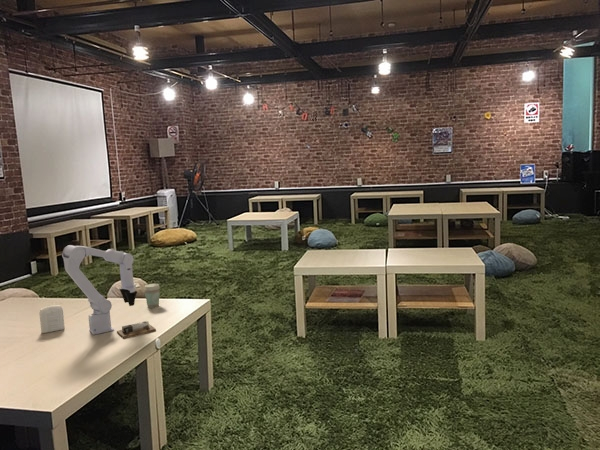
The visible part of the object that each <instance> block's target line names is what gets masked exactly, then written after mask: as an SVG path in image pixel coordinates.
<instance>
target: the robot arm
mask: <svg viewBox="0 0 600 450" xmlns="http://www.w3.org/2000/svg"><path fill="white" fill-rule="evenodd" d="M89 256H94V257H98V258H103V259H104V261H106V262H108V263H109V262H111V263H114V264H118V265H119V274H120V283H121V285H120V288H119V292H120V293H121V295H122V298H123V299H122V300H123V302H124V303H128V305H129V307H132V306H135V301H136V296H137V294H138V291H137V290H135V287H137V284H135V283H134V272H133V263H134V262H135V258H134V257H133V255H132V254H131V253H128V252H124V251H123V250H120V251H119V250H115V248H113V247H112V248H108V249H107V250H102V249H98V248H94V247H90V246H86V245H85V246H83V245H73V244H69V245H67V246H65V247H64V248H63V251H62V254H61V257H62V259H63V265H64V270H65V272H66V273H67V274H68V275H69V277H70V278H71V279H72V280H73V282H74V284H76V286H77V287H78V288H79V289H80V290H81V292H82V293H83V294H84V295H85V296H86V297H87V301H88V303H89V307H90V308H91V309H92V310H93V311H92V312H93V313H91V314H88V325H89V326H88V328H89V330H88V331H89V332H90V333H91V334H92V335H93V336H94V335H95V336H96V335H99V334H102V333H103V334H104V333H107V332H112V331H115V328H114V327H112V319H111V310H112V306H113V305H112V302H111V300H109V299H107V298H105V296H103V294H101V293H100V292H99V291H98V290H97V289H96V287H95V286H94V285H93V284H92V282H90V280H89V279H88V277H86V275H85V274H84V273H83V271H82V270H81V269H80V266H81V263H82V262H83V260H84V259H85V258H88V257H89Z"/></svg>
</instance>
